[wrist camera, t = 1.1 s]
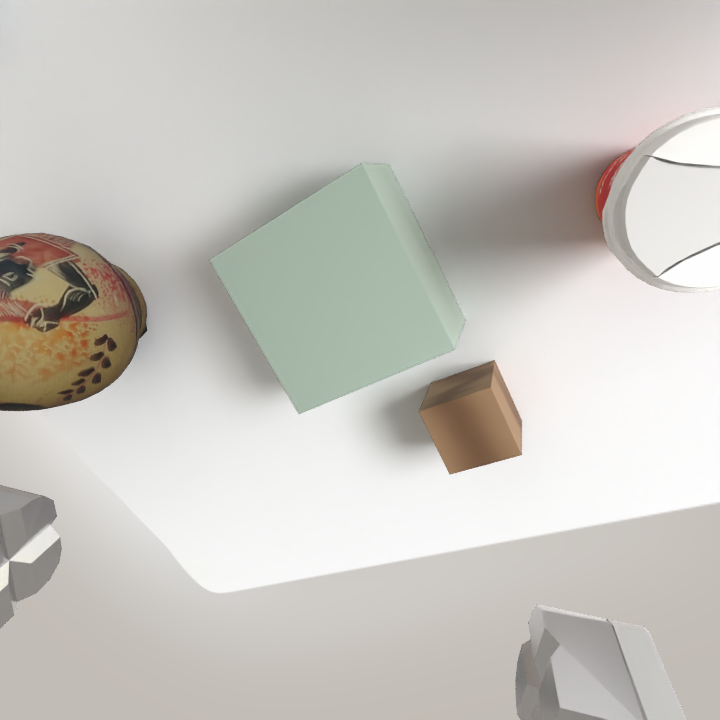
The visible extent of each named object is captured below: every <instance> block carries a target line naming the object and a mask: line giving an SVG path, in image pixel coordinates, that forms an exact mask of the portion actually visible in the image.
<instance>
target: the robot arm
mask: <svg viewBox="0 0 720 720" xmlns="http://www.w3.org/2000/svg"><path fill="white" fill-rule="evenodd" d="M56 517H57V514H56V510H55V505H54V501H53V500H51V499H49V498H47V497H45V496H42V495H38V494H34V493H30V492H26V491H22V490H18V489H14V488H10V487H6V486H2V485H0V628H1V627H2V626H3V625H4V624H5V623H6V622H7V621H8V620H9V619H10V618H11V617H13V616H14V613H15V608H16V604H17V602H18V601H20V600H22V599H24V598H27V597H29V596H31V595H33V594H35V593H37V592H38V591H39V590H40V589H41V588H42V587H43V586H44V585H45V584H46V583H47V581H49V580H50V578H51V576H52V574H53V573H54V571H55V569H56V567H57V565H58V564H59V560H60V555H61V549H62V548H61V541H60V537H59V535H58V534H57V533H56V532H55V530H54V529H53V528H52V526H51V524H52V522H53V521H54V520H55V518H56ZM528 624H529V632H530V638H531V639H530V640H529V641H527V642H525V643H524V644H522V646H521V650H520V654H519V658H518V663H517V672H516V705H517V715H518V716H519V718H520V719H521V720H686V718H685V716H684V713H683V711H682V709H681V706H680V704H679V702H678V699H677V697H676V694H675V692H674V690H673V687H672V685H671V682H670V680H669V678H668V675H667V673H666V671H665V668H664V666H663V663H662V661H661V659H660V657H659V654H658V652H657V649H656V647H655V644H654V642H653V640H652V638H651V635H650V633H649V632H648V631H647V630H646V629H645V628H644V627H643V626H638V625H634V624H629V623H624V622H619V621H614V620H610V619H606V620H605V619H603V618H599V617H594V616H590V615H585V614H580V613H575V612H570V611H566V610H561V609H556V608H552V607H547V606H542V605H536V606H535V607H534V609H533V610H532V613H531V616H530V619H529V622H528Z"/></svg>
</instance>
